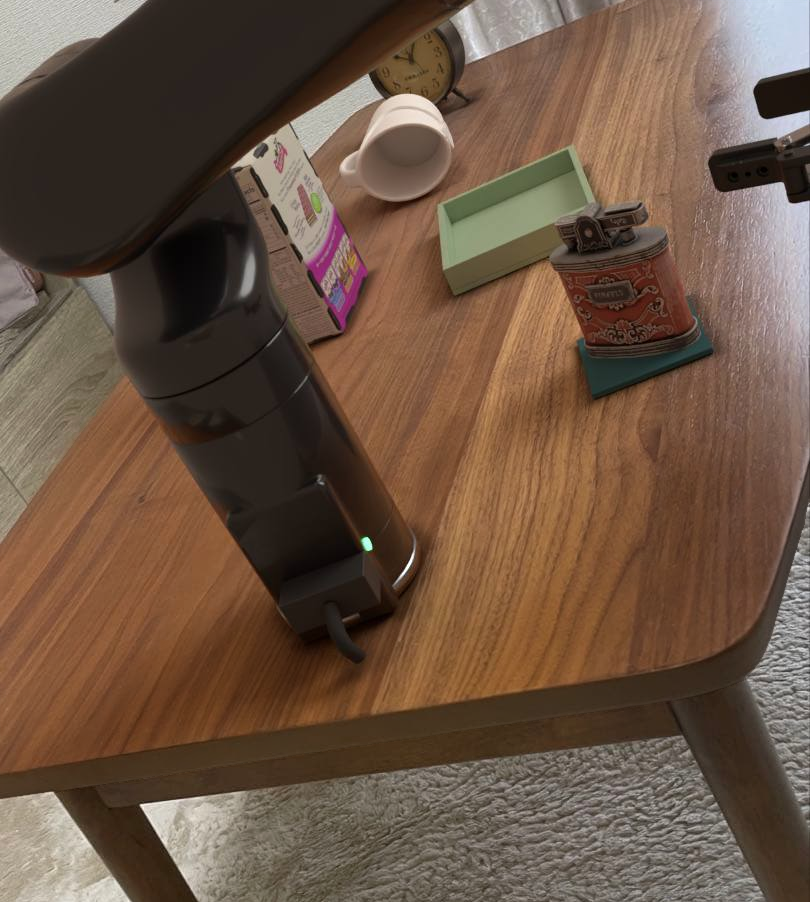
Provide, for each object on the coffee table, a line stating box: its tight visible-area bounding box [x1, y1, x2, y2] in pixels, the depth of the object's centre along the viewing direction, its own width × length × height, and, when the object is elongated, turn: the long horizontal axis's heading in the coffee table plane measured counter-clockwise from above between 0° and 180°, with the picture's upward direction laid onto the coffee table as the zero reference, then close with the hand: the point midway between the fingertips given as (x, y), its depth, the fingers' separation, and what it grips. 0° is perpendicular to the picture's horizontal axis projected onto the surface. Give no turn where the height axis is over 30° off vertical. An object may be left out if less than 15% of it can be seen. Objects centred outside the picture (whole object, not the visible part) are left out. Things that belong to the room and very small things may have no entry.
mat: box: [576, 295, 715, 400], centre depth 82 cm, size 8×8×1 cm
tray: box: [436, 144, 597, 297], centre depth 106 cm, size 15×13×2 cm
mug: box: [338, 94, 455, 203], centre depth 126 cm, size 12×9×8 cm
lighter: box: [548, 199, 701, 359], centre depth 79 cm, size 8×3×10 cm, turn 59°
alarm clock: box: [367, 18, 471, 107], centre depth 141 cm, size 11×5×16 cm, turn 67°
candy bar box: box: [231, 122, 369, 346], centre depth 106 cm, size 11×5×16 cm, turn 168°
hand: (736, 135), depth 70 cm, fingers open, 8 cm apart
